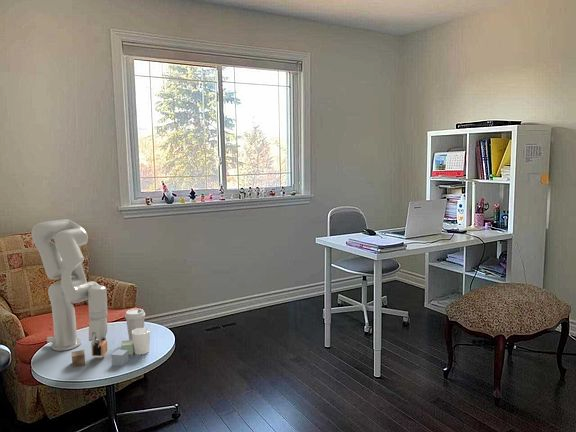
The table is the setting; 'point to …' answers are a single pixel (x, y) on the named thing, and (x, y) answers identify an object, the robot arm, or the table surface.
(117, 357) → the slate block
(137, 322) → the coffee cup
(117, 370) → the table surface
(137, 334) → the white cup
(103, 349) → the terracotta block
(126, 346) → the sage block
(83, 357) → the walnut block
